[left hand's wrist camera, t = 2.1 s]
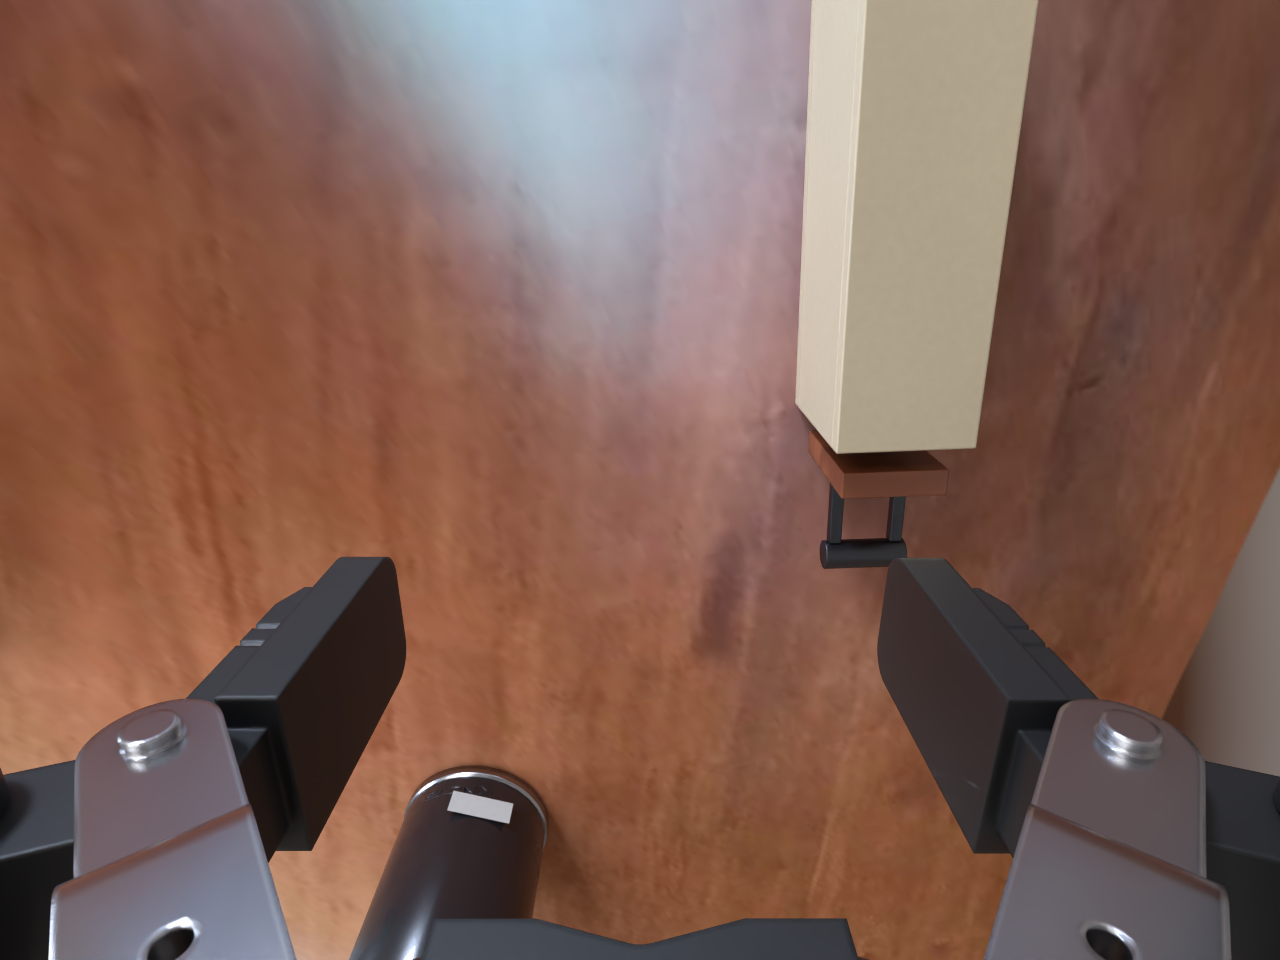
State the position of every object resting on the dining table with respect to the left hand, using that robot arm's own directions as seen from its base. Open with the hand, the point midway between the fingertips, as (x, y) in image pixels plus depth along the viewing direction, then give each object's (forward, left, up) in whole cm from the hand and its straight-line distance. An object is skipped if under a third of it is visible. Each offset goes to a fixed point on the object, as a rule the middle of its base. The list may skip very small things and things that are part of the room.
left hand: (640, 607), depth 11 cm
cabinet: (+6, -11, -26) cm, 28 cm away
